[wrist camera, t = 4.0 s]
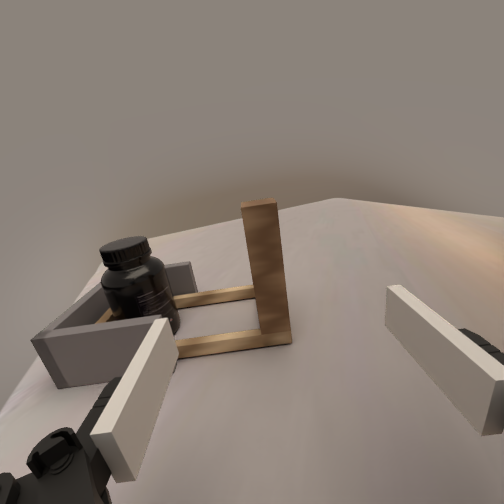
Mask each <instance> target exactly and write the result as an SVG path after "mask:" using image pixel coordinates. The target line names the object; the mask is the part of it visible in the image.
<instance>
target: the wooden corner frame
mask: <svg viewBox="0 0 504 504" xmlns="http://www.w3.org/2000/svg"><path fill="white" fill-rule="evenodd" d="M241 211H242V218H243V224H244V230H245V236H246V243H247V249H248V255H249V261H250V267H251V274H252V280H253V285H247V286H240V287H233V288H227V289H220V290H213V291H206V292H199V293H192V294H185V295H178V296H174V300H175V303H176V306H177V308H183V307H190V306H197V305H204V304H211V303H218V302H225V301H232V300H239V299H246V298H253V297H255V298H256V305H257V311H258V317H259V323H260V329H254V330H247V331H240V332H233V333H226V334H218V335H211V336H204V337H197V338H190V339H183V340H175V342H176V346H177V349H178V352H179V355H178V358H185V357H192V356H199V355H206V354H214V353H221V352H228V351H235V350H243V349H250V348H257V347H264V346H272V345H279V344H286V343H292V337H291V328H290V319H289V310H288V301H287V292H286V282H285V273H284V264H283V255H282V246H281V237H280V228H279V219H278V210H277V202H276V201H275V200H274V198H266V199H260V200H253V201H247V202H241ZM112 321H116V320H115V318H114V316H113V313H112V311H111V308H109V309H108V310H107V311H106V312H105V313H104V314H103V316H102V317H101V318H100V319H99V320H98V321H97V322H96V323H95V324H98V323H105V322H112Z"/></svg>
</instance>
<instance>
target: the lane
mask: <svg viewBox="0 0 504 504" xmlns="http://www.w3.org/2000/svg"><path fill="white" fill-rule="evenodd" d="M164 266H165V269H166V272H167V276H168V279H169V282H170V286H171V289H172V293H173V296H178V295H185V294H192V293H198V290H197V286H196V282H195V278H194V274H193V270H192V266H191V262H190V261H189V262H182V263H176V264H169V265H164ZM109 308H110V306H109V303H108V301H107V298H106V296H105V294H104V291H103V289H102V286H101V282H100V283H99V284H97V285H96V286H95V287H94V288H93V289H91V290H90V291H89V292H88V293H87V294H85V295H84V296H83V297H82V298H81V299H79V300H78V301H77V302H76V303H75V304H73V305H72V306H71V307H70V308H69V309H67V310H66V311H65V312H64V313H63V314H61V315H60V316H59V317H58V318H56V320H54V321H53V322H52V323H50V324H49V325H48V326H47V327H46V328H44V329H43V330H42V331H41V332H40V333H38V334H37V335H36V336H35V337H34V338H33V339H31V342H32V344H33V346H34V347H35V349H36V351H37V353H38V355H39V356H40V358H41V360H42V362H43V363H44V365H45V367H46V369H47V370H48V372H49V374H50V376H51V378H52V379H53V381H54V383H55V385H56V386H57V388H58V389H61V388H68V387H75V386H83V385H90V384H97V383H105V382H111V381H112V380H113V379H114V378H115V377H122V376H123V375H124V373H125V372H126V370H127V368H128V366H129V365H130V363H131V361H132V359H133V358H134V356H135V354H136V352H137V351H138V349H139V347H140V345H141V344H142V342H143V340H144V338H145V336H146V335H147V333H148V331H149V329H150V328H151V326H152V324H153V322H154V321H155V319H161V318H162V316H161V315H154V316H147V317H140V318H133V319H126V320H119V321H112V322H105V323H98V324H95V323H96V322H97V321H98V320H99V319H100V318H101V317H102V316H103V314H104V313H105V312H106V311H107V310H108V309H109ZM176 365H177V362H176V364H175V367H174V370H173V373H174V371H175V368H176Z"/></svg>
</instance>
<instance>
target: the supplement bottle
mask: <svg viewBox="0 0 504 504" xmlns="http://www.w3.org/2000/svg"><path fill="white" fill-rule="evenodd" d="M151 253H152V251H151V248H150V247H149V244H148V241H147V238H146V237H144V236H136V237H129V238H124V239H120V240H116V241H114V242H111V243H108V244H106V245H104V246H102V247H101V248H100V254H101V257H102V259H103V264H104V266H105V267H108V269H107V270H106V271H105V273H104V274H103V276H102V278H101V286H102V289H103V291H104V294H105V296H106V298H107V301H108V303H109V306H110V308H111V311H112V313H113V316H114V318H115V320H116V321H119V320H126V319H133V318H140V317H147V316H154V315H161V316H162V318H168V320H169V323H170V326H171V330H172V333H173V335H174V334H175V332H176V331H177V330H178V328H179V325H180V317H179V313H178V310H177V306H176V303H175V300H174V296H173V293H172V289H171V286H170V282H169V279H168V276H167V272H166V269H165V266H164V264H163V262H162V261H161V260H159V259H158V258H156V257H152V256H150V254H151Z"/></svg>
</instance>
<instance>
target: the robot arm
mask: <svg viewBox="0 0 504 504" xmlns="http://www.w3.org/2000/svg"><path fill="white" fill-rule="evenodd" d="M385 326H386V327H387V328H388V329H389V330H390V332H391V333H392V334H393V335H394V336H395V337H396V339H397V340H398V341H399V342H400V343H401V344H402V345H403V347H404V348H405V349H406V350H407V351H408V352H409V353H410V355H411V356H412V357H413V358H414V359H415V360H416V362H417V363H418V364H419V365H420V366H421V367H422V368H423V370H424V371H425V372H426V373H427V374H428V375H429V377H430V378H431V379H432V380H433V381H434V382H435V383H436V385H437V386H438V387H439V388H440V389H441V390H442V392H443V393H444V394H445V395H446V396H447V397H448V398H449V400H450V401H451V402H452V403H453V404H454V405H455V407H456V408H457V409H458V410H459V411H460V412H461V413H462V415H463V416H464V417H465V418H466V419H467V420H468V421H469V423H470V424H471V425H472V426H473V427H474V428H475V430H476V431H477V432H478V433H479V434H480V435H481V436H486V435H494V434H502V432H503V429H504V353H501V352H500V350H499V349H497V348H496V347H494V346H493V345H491V344H490V343H489V342H488V341H486V340H485V339H484V338H482V337H481V336H479V335H478V334H475V333H473V332H471V331H469V330H467V329H465V328H464V329H456V328H455V327H454V326H452V325H451V324H450V323H449V322H447V321H446V320H445V319H443V318H442V317H441V316H440V315H438V314H437V313H436V312H434V311H433V310H432V309H431V308H429V307H428V306H427V305H425V304H424V303H423V302H422V301H420V300H419V299H418V298H417V297H415V296H414V295H413V294H411V293H410V292H409V291H408V290H406V289H405V288H404V287H402V286H401V285H393V286H387V292H386V312H385ZM178 355H179V352H178V349H177V346H176V342H175V339H174V336H173V333H172V330H171V326H170V323H169V320H168V318H161V319H155V321H154V322H153V324H152V326H151V328H150V329H149V331H148V333H147V335H146V336H145V338H144V340H143V342H142V344H141V345H140V347H139V349H138V351H137V352H136V354H135V356H134V358H133V359H132V361H131V363H130V365H129V366H128V368H127V370H126V372H125V373H124V375H123V376H122V377H115V378H114V379H113V380H112V381H111V382H110V383H108V384H107V385H106V386H105V388H104V389H103V391H102V392H101V394H100V396H99V397H98V400H96V402H95V404H94V405H93V408H92V409H91V410H90V412H89V413H88V415H87V417H86V418H85V420H84V421H83V423H82V425H81V426H80V428H79V429H78V431H77V433H76V434H75V432H74V431H73V429H72V428H68V427H65V428H61V429H58V430H56V431H54V432H52V433H50V434H49V435H47V436H46V437H45V438H43V439H42V440H41V441H40V442H39V443H38V444H37V445H36V446H35V447H34V448H33V450H32V451H31V453H30V455H29V456H28V459H27V463H26V464H27V466H28V467H29V469H30V470H31V471H32V473H30V474H27V475H25V476H23V477H21V478H18V479H15V478H14V477H13V476H12V474H11V473H1V474H0V504H112V502H111V498H110V495H109V491H108V489H107V487H106V485H107V483H108V480H109V478H110V476H111V474H112V476H113V478H114V480H115V482H116V483H121V482H129V481H136V479H137V476H138V473H139V470H140V467H141V464H142V461H143V458H144V455H145V452H146V449H147V446H148V443H149V441H150V438H151V435H152V432H153V429H154V426H155V423H156V420H157V417H158V414H159V411H160V408H161V405H162V402H163V399H164V396H165V394H166V391H167V388H168V385H169V382H170V379H171V376H172V373H173V370H174V367H175V364H176V361H177V358H178Z"/></svg>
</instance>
